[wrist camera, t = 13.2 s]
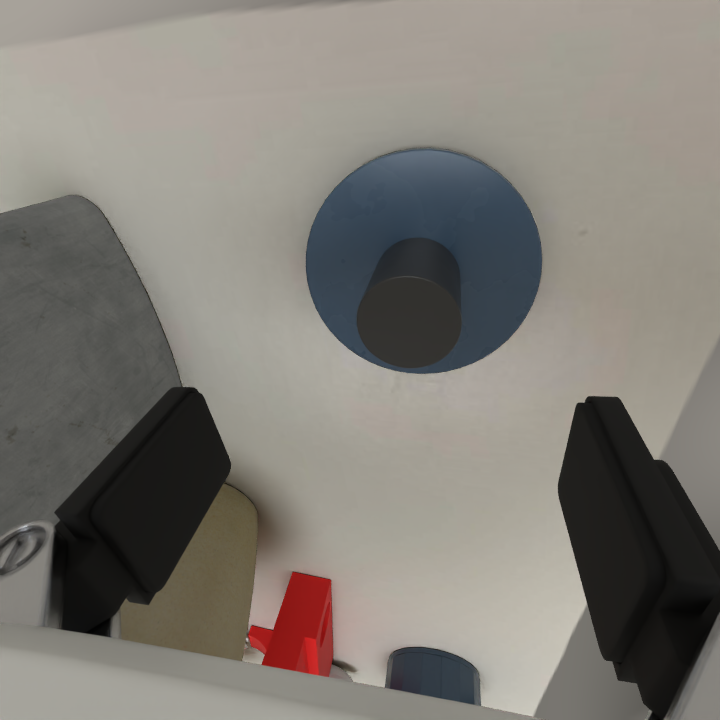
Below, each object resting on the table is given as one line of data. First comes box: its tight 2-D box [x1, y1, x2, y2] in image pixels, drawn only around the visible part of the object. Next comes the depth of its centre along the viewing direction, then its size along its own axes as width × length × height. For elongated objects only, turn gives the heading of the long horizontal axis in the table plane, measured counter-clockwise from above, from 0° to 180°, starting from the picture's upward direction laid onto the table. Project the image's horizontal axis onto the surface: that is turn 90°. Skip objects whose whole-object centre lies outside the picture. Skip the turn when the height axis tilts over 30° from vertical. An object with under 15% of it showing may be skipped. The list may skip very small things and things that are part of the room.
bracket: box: [248, 572, 333, 677], centre depth 40 cm, size 18×10×10 cm
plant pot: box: [120, 483, 258, 661], centre depth 29 cm, size 15×15×16 cm
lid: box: [306, 148, 542, 374], centre depth 18 cm, size 11×11×6 cm
